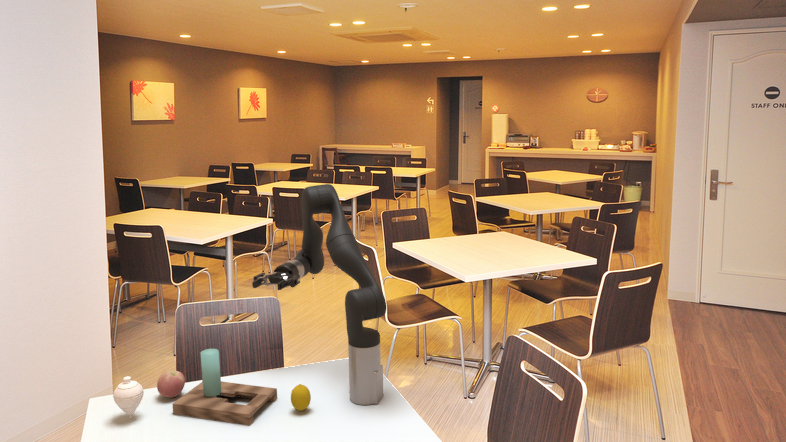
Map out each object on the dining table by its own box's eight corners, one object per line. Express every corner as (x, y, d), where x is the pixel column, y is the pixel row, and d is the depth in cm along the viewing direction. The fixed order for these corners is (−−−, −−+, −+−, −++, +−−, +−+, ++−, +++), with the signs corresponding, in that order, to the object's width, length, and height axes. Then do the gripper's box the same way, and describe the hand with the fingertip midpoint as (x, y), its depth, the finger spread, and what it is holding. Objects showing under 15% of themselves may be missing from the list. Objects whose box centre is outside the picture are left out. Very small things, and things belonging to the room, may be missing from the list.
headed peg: (225, 401, 174) (222, 349, 171) (215, 409, 169) (212, 356, 166) (210, 399, 175) (207, 347, 172) (200, 407, 170) (196, 354, 168)
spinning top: (142, 423, 162) (138, 382, 159) (112, 426, 160) (107, 384, 158) (148, 410, 169) (145, 370, 167) (120, 412, 168) (116, 372, 166)
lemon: (307, 416, 164) (306, 389, 163) (288, 414, 166) (287, 387, 164) (313, 407, 170) (312, 380, 168) (295, 405, 171) (294, 379, 169)
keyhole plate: (277, 398, 175) (276, 388, 175) (249, 425, 160) (249, 414, 159) (206, 389, 182) (205, 379, 181) (173, 414, 167) (172, 403, 166)
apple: (172, 405, 172) (170, 379, 171) (152, 400, 175) (149, 374, 174) (191, 393, 179) (189, 368, 178) (171, 389, 182) (169, 364, 181)
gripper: (269, 260, 201) (245, 272, 186) (308, 263, 198) (286, 275, 182) (270, 282, 203) (246, 296, 187) (309, 285, 199) (287, 299, 183)
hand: (266, 286), depth 185 cm, fingers open, 8 cm apart
